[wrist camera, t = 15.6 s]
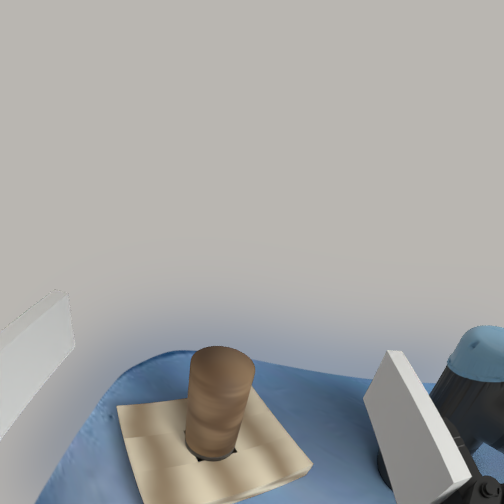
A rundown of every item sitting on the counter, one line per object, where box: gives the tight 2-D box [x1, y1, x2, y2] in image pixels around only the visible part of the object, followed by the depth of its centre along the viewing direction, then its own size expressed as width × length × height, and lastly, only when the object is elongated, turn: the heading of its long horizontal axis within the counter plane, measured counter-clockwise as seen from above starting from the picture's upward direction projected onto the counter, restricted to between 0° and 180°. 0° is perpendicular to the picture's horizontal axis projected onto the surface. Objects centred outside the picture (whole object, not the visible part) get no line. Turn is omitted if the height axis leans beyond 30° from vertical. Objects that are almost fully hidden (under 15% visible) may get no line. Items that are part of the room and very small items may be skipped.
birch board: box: [117, 386, 313, 504], centre depth 30 cm, size 20×16×3 cm
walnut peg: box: [185, 346, 255, 462], centre depth 28 cm, size 6×6×16 cm
